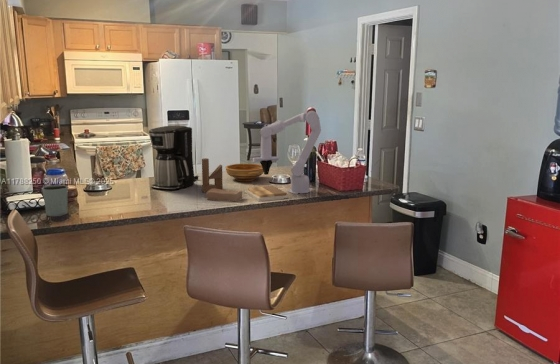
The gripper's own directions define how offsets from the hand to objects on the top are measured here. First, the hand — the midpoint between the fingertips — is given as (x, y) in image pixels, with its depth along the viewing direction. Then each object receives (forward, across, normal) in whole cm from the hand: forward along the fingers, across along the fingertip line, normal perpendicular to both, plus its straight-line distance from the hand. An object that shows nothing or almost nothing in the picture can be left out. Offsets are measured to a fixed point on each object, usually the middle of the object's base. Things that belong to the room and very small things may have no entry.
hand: (266, 174), depth 247 cm
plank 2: (+8, +6, +14) cm, 17 cm away
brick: (+10, +26, +8) cm, 29 cm away
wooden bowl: (+10, 0, -35) cm, 36 cm away
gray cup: (+10, +102, +7) cm, 103 cm away
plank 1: (+8, +6, +4) cm, 11 cm away
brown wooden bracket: (+10, +27, -11) cm, 31 cm away
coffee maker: (+10, +40, -32) cm, 52 cm away
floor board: (+9, +4, +9) cm, 13 cm away
